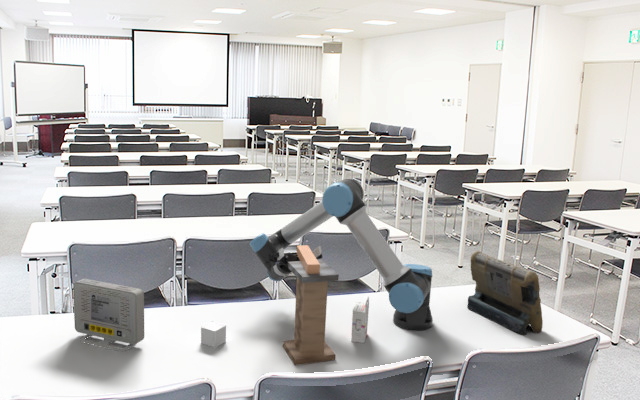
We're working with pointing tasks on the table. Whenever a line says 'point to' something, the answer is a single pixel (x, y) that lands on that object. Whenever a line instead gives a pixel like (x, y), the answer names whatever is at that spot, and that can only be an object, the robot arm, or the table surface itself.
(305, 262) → the bar
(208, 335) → the white cube
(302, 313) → the wooden pedestal stand
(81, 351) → the table surface
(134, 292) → the network device
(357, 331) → the ink cartridge box
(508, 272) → the tablet
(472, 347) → the table surface
